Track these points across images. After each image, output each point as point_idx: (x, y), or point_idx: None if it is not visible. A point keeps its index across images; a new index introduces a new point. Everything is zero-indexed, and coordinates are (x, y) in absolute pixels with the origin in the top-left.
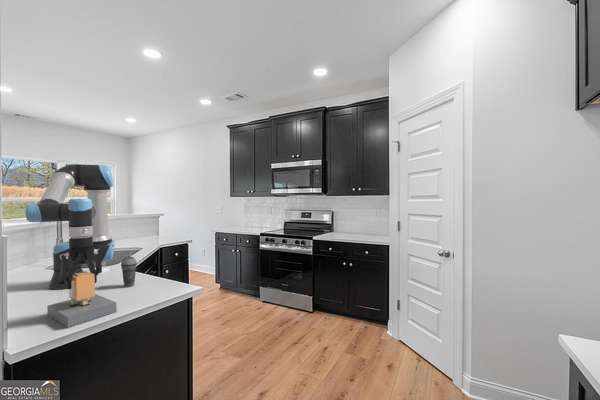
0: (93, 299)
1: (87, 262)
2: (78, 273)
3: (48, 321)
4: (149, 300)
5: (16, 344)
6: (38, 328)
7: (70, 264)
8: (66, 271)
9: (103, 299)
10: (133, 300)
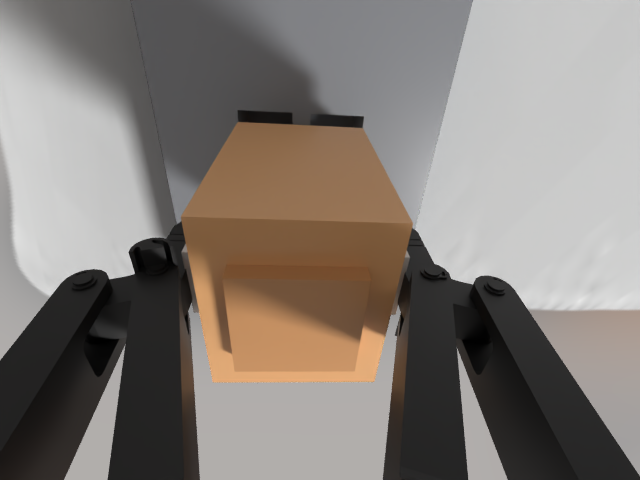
0: (377, 146)
1: (389, 476)
2: (266, 316)
3: (149, 92)
4: (542, 259)
5: (38, 246)
6: (103, 152)
7: (110, 461)
8: (88, 423)
9: (402, 201)
10: (530, 194)
